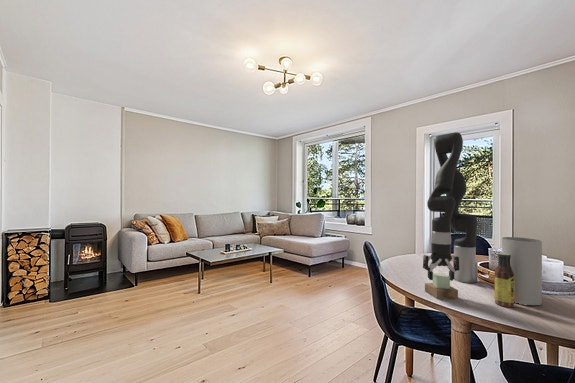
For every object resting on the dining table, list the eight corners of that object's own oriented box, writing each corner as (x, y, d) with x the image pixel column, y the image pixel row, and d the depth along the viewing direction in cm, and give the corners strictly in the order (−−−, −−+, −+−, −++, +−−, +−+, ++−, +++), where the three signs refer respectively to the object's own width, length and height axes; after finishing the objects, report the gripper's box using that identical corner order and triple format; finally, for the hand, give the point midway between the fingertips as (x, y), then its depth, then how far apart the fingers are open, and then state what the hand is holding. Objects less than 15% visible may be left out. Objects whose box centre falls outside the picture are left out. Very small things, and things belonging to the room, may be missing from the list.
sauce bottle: (515, 309, 105) (516, 256, 106) (495, 305, 109) (495, 254, 109) (513, 303, 111) (513, 253, 111) (493, 300, 114) (493, 251, 114)
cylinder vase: (501, 293, 123) (501, 236, 123) (539, 299, 116) (539, 239, 116) (502, 301, 113) (502, 239, 113) (544, 309, 106) (544, 243, 106)
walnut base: (444, 292, 125) (444, 283, 125) (457, 299, 116) (457, 290, 116) (424, 292, 124) (424, 283, 124) (436, 300, 115) (436, 290, 115)
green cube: (444, 284, 122) (444, 273, 122) (449, 288, 117) (450, 276, 117) (432, 284, 123) (432, 272, 123) (437, 288, 118) (437, 276, 118)
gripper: (453, 240, 124) (453, 277, 123) (420, 240, 124) (420, 276, 124) (463, 244, 116) (462, 283, 116) (427, 243, 117) (427, 282, 117)
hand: (440, 279), depth 120 cm, fingers open, 8 cm apart
